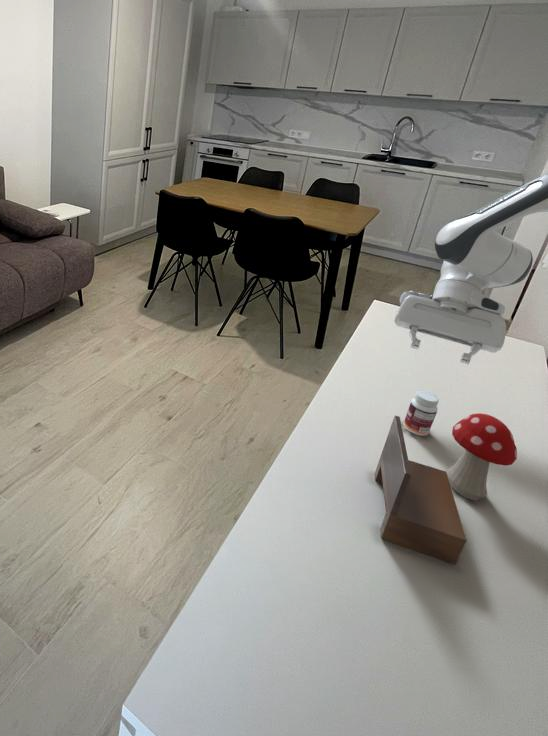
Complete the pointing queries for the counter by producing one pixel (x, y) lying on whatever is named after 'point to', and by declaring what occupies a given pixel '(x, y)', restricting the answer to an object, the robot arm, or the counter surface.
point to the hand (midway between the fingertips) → (439, 354)
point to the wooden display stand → (417, 503)
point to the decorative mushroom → (479, 453)
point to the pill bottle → (421, 413)
